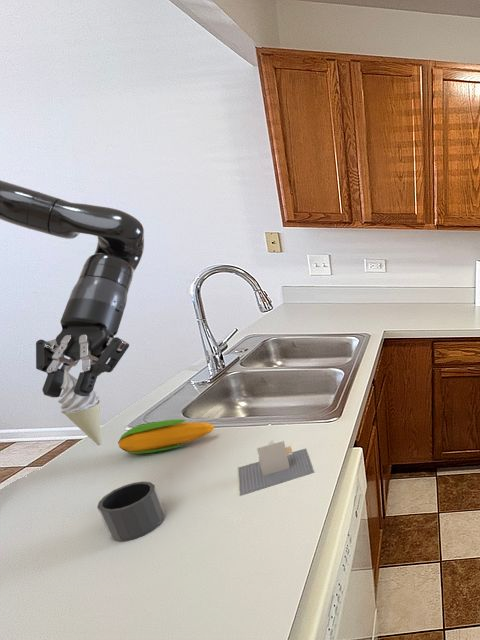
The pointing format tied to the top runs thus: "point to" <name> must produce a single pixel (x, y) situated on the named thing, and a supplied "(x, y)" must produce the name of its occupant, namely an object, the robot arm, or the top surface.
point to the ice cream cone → (81, 408)
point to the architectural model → (274, 467)
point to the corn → (162, 435)
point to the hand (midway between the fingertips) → (66, 395)
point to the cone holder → (131, 511)
